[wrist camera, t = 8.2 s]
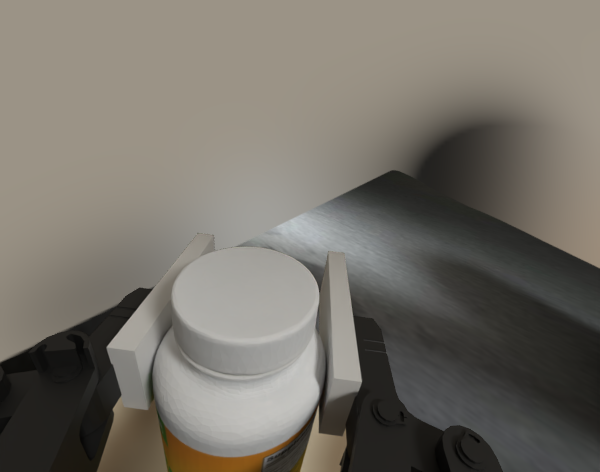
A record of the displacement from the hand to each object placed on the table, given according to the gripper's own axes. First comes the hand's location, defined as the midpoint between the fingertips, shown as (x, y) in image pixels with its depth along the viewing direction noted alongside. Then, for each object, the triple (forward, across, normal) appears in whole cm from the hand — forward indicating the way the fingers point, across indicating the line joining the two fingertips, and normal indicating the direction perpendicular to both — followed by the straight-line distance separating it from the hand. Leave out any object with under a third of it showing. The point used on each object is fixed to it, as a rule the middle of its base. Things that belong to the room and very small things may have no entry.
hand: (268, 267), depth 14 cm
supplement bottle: (-5, 0, -7) cm, 9 cm away
